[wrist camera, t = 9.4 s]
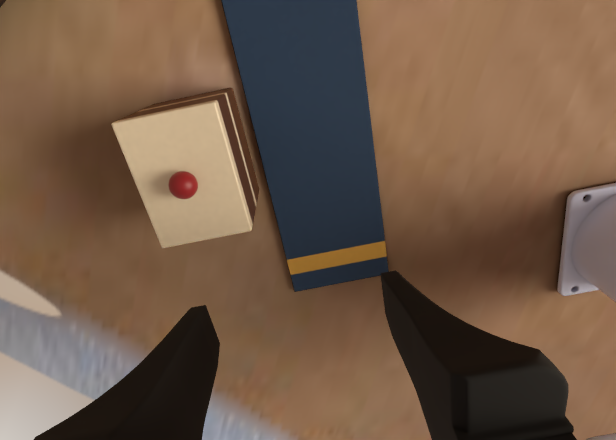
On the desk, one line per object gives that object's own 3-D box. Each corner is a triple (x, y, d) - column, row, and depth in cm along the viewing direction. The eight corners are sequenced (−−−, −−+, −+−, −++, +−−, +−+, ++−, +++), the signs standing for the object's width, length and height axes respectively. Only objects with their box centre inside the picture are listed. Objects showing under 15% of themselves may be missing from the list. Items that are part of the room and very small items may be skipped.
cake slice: (232, 87, 20) (209, 105, 14) (259, 190, 23) (250, 242, 17) (153, 104, 20) (97, 129, 14) (188, 204, 23) (154, 261, 17)
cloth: (337, -145, 17) (338, -149, 16) (387, 271, 26) (389, 274, 26) (193, -113, 17) (192, -115, 16) (294, 289, 26) (294, 292, 26)
